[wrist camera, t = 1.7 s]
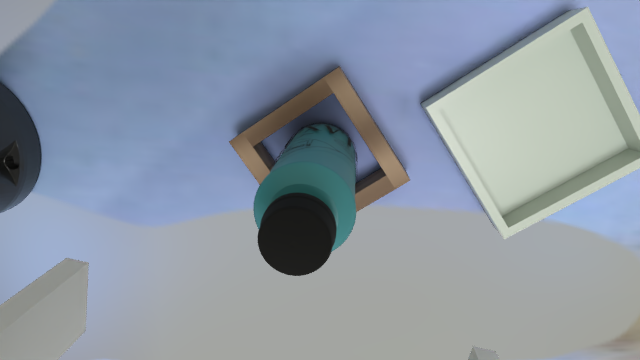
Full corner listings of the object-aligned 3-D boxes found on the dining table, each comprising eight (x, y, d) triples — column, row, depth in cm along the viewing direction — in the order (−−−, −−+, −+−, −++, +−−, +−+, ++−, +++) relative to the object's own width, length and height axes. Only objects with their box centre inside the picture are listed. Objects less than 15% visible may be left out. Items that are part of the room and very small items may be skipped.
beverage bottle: (371, 150, 40) (389, 240, 21) (324, 199, 42) (301, 324, 23) (319, 103, 39) (289, 152, 20) (273, 155, 41) (204, 246, 22)
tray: (420, 103, 39) (425, 107, 36) (568, 10, 36) (587, 6, 33) (493, 226, 41) (504, 239, 39) (636, 149, 38) (660, 157, 36)
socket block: (237, 135, 41) (228, 141, 38) (339, 66, 38) (338, 67, 35) (305, 231, 43) (302, 243, 40) (406, 171, 40) (410, 180, 38)
